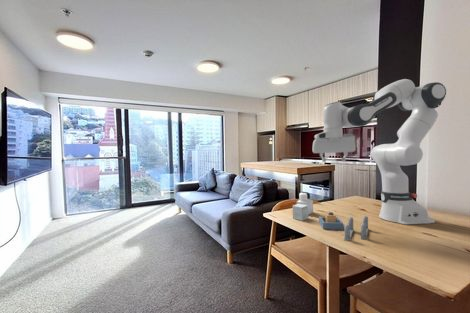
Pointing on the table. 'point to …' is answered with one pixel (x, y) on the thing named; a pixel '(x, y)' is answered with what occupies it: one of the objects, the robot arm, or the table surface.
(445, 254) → the table surface
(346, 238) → the clip
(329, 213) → the block with round knob
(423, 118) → the robot arm
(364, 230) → the clip
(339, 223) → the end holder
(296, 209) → the product box
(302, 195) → the medicine bottle
